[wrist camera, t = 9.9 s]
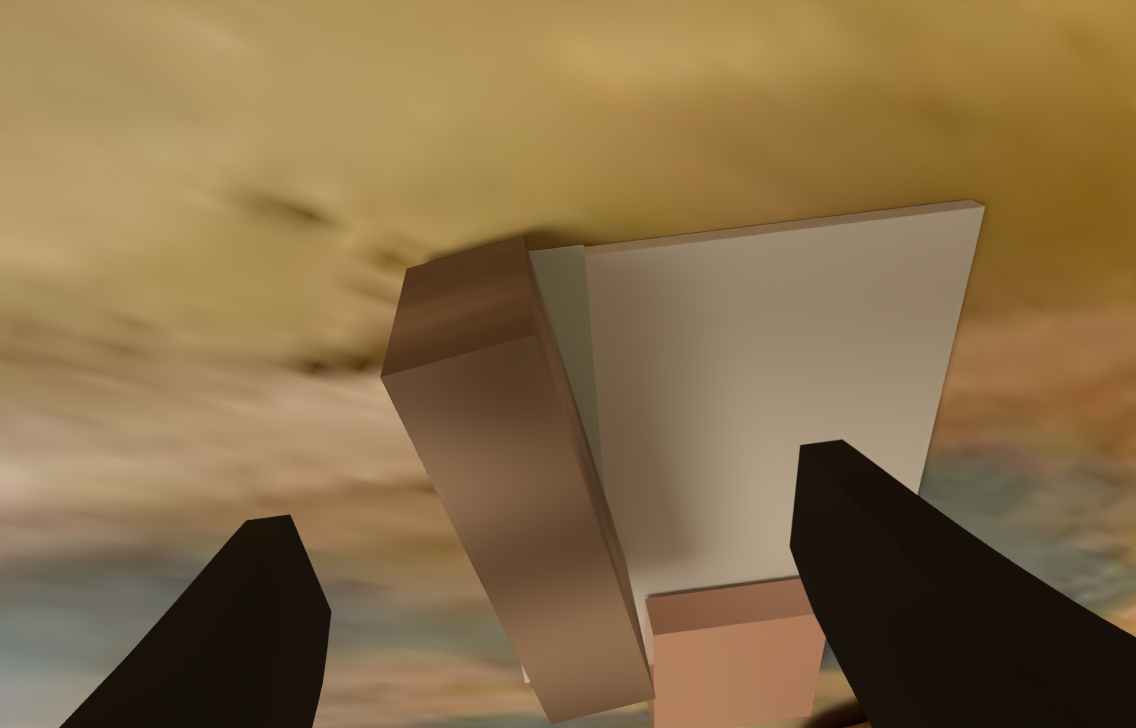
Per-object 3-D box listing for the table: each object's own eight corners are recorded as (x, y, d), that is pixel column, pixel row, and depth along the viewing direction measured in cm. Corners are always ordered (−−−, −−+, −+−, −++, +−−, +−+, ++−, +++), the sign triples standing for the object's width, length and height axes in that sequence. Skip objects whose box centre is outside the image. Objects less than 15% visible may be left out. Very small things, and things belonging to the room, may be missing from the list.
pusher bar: (625, 559, 23) (656, 698, 19) (539, 582, 24) (551, 723, 19) (523, 235, 17) (534, 334, 13) (406, 268, 17) (380, 377, 13)
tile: (830, 611, 23) (810, 716, 26) (810, 572, 25) (793, 675, 28) (653, 635, 23) (654, 737, 26) (643, 594, 24) (645, 695, 28)
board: (973, 188, 18) (988, 195, 18) (877, 617, 27) (885, 631, 27) (441, 253, 18) (439, 262, 17) (524, 668, 27) (525, 683, 26)
